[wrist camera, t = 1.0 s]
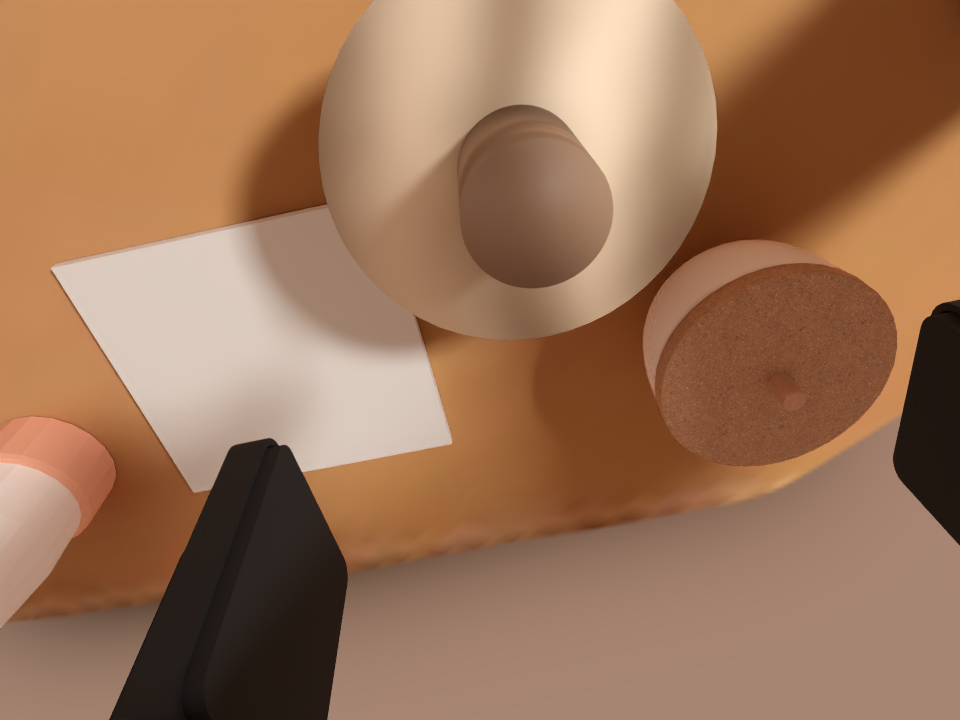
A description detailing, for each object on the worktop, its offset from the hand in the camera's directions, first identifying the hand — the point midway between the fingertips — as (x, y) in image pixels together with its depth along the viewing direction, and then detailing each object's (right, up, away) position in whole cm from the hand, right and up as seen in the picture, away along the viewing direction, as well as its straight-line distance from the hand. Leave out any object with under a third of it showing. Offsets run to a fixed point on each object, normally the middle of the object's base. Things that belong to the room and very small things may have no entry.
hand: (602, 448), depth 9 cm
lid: (-1, +9, +13) cm, 16 cm away
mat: (-14, +1, +26) cm, 29 cm away
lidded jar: (+11, +5, +25) cm, 28 cm away
